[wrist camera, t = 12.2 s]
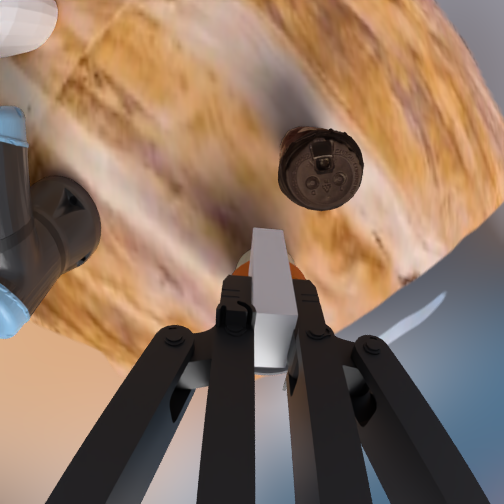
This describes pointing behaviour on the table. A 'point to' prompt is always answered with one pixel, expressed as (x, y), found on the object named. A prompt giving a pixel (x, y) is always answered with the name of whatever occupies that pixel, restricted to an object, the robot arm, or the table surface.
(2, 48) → the bottle
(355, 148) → the coffee cup
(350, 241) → the table surface
